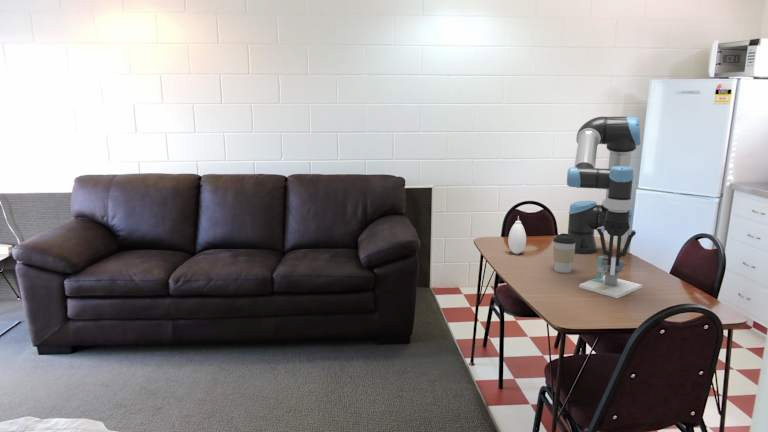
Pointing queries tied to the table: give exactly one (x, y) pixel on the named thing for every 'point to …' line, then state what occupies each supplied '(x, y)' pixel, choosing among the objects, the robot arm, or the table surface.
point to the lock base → (609, 284)
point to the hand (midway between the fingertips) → (612, 273)
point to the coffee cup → (563, 252)
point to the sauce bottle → (517, 238)
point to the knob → (607, 267)
